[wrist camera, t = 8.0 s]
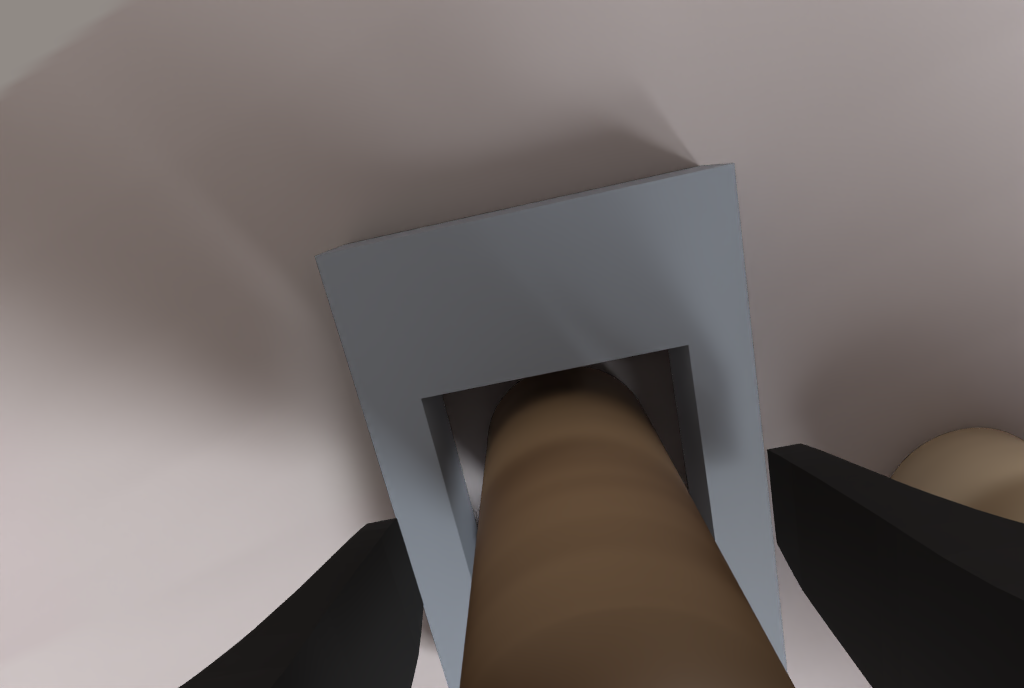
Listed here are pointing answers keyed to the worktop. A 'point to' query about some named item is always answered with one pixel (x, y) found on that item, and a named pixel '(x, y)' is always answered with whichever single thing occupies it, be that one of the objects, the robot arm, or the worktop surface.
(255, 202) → the worktop surface
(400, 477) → the board
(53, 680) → the worktop surface
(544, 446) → the long dowel
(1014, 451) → the short dowel
